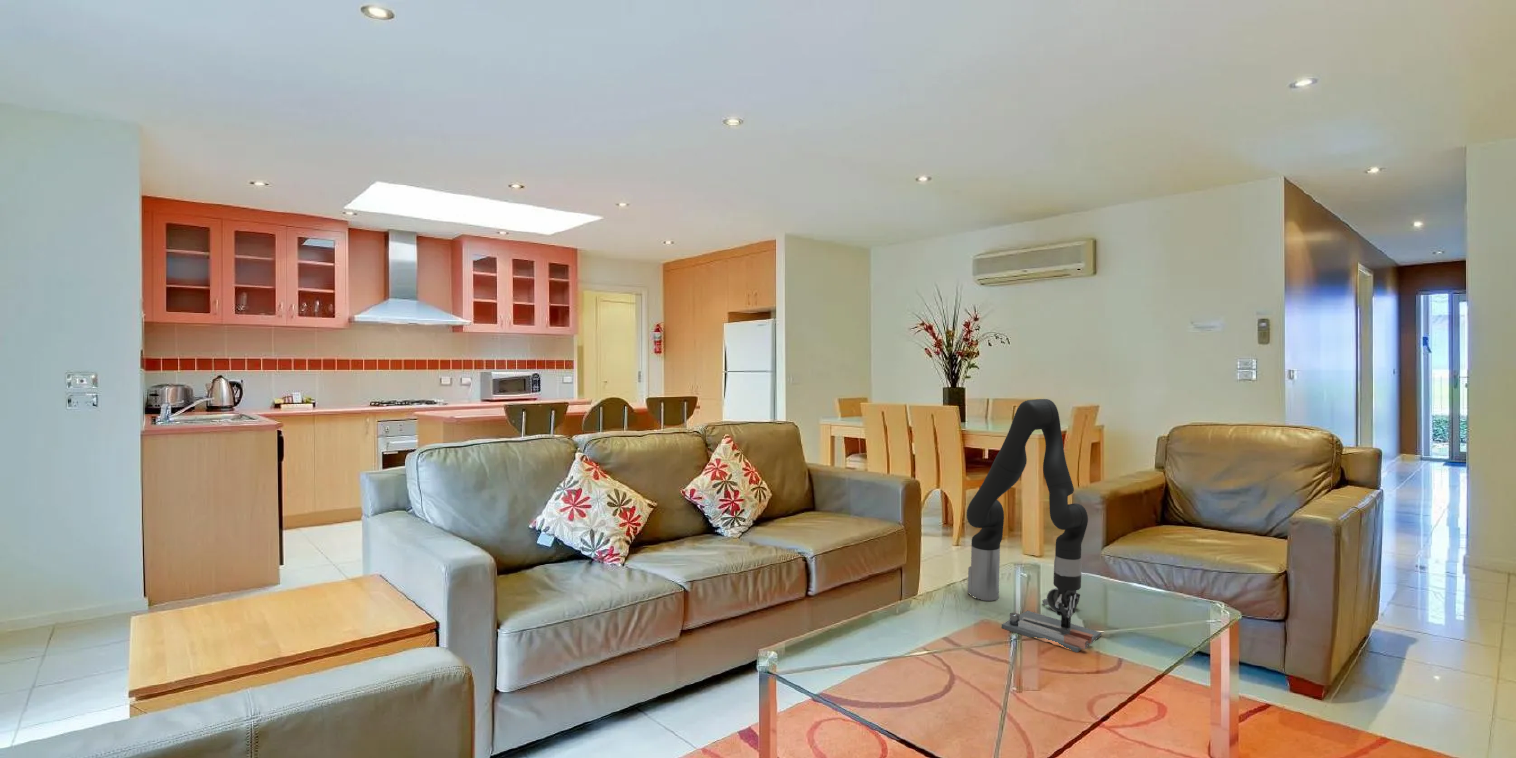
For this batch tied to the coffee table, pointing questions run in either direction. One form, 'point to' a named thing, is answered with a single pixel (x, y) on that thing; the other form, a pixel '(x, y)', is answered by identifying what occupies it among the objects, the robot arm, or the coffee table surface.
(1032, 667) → the coffee table surface
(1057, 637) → the tongs fixed arm
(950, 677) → the coffee table surface
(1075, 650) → the board
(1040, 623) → the tongs free arm
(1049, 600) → the ceramic mug
